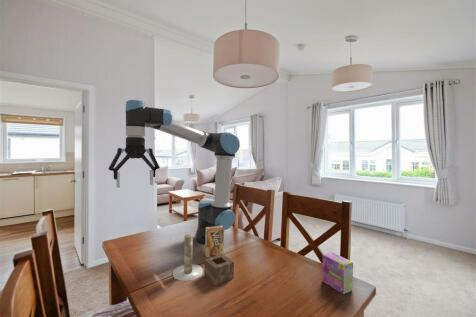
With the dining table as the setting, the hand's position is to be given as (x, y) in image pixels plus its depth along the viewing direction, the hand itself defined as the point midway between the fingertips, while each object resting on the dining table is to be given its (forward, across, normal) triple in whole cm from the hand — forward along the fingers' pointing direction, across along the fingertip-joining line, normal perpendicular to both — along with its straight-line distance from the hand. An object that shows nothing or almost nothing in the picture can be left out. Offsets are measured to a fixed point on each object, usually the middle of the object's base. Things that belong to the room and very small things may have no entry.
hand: (135, 185), depth 98 cm
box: (+39, -64, +59) cm, 95 cm away
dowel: (+38, -18, +15) cm, 44 cm away
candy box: (+39, -36, +8) cm, 54 cm away
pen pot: (+39, -27, +26) cm, 54 cm away
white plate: (+39, -18, +15) cm, 45 cm away
